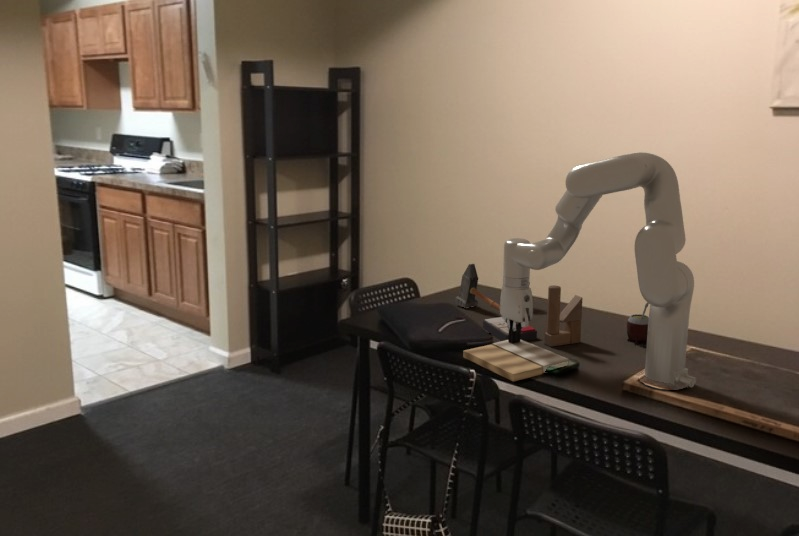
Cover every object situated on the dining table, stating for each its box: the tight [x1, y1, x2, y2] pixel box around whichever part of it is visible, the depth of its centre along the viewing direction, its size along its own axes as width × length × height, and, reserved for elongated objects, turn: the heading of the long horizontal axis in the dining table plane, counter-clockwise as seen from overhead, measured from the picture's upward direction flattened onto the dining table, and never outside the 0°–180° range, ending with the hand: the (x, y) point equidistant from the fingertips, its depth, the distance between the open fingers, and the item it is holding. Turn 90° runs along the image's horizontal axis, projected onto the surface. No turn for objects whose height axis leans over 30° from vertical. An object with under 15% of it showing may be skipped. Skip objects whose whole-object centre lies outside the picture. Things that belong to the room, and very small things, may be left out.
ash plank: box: [491, 339, 570, 374], centre depth 199 cm, size 22×9×2 cm, turn 31°
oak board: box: [462, 344, 543, 382], centre depth 194 cm, size 22×10×2 cm, turn 31°
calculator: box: [482, 316, 538, 342], centre depth 221 cm, size 11×4×15 cm
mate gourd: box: [626, 302, 650, 346], centre depth 211 cm, size 8×8×15 cm
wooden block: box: [543, 285, 583, 347], centre depth 211 cm, size 4×11×18 cm, turn 111°
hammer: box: [454, 263, 500, 312], centre depth 242 cm, size 6×16×30 cm
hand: (514, 342), depth 207 cm, fingers closed
